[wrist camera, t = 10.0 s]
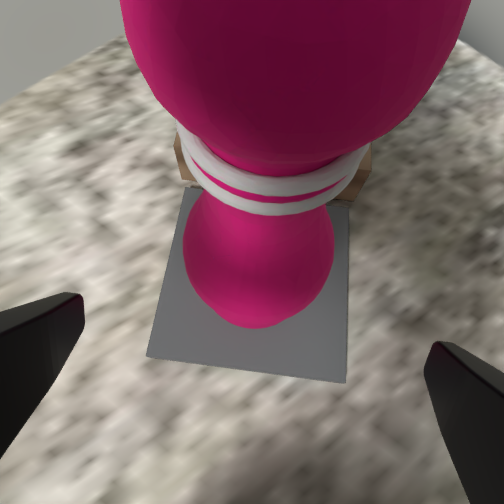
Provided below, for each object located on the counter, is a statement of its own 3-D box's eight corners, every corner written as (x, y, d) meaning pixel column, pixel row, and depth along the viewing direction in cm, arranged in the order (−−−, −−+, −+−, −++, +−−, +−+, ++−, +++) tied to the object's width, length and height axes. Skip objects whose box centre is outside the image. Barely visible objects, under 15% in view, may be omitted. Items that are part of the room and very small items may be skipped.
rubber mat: (342, 383, 19) (345, 383, 19) (148, 357, 20) (145, 356, 19) (346, 212, 24) (348, 207, 23) (186, 191, 24) (185, 187, 23)
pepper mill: (172, 261, 21) (-267, -628, 3) (268, 205, 23) (385, -572, 5) (237, 364, 19) (192, -603, 1) (338, 293, 21) (1098, -512, 2)
